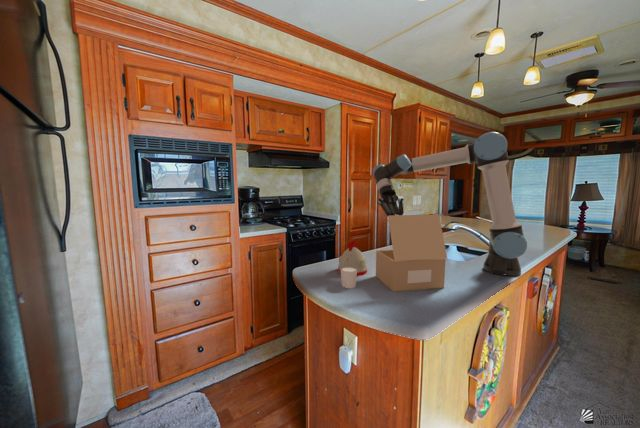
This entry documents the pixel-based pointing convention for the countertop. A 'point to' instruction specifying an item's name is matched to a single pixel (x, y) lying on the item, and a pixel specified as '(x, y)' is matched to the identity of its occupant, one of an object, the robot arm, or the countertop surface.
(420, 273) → the carton
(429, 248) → the carton lid
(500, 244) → the robot arm
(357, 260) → the kitchen timer
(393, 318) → the countertop surface
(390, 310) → the countertop surface
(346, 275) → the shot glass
